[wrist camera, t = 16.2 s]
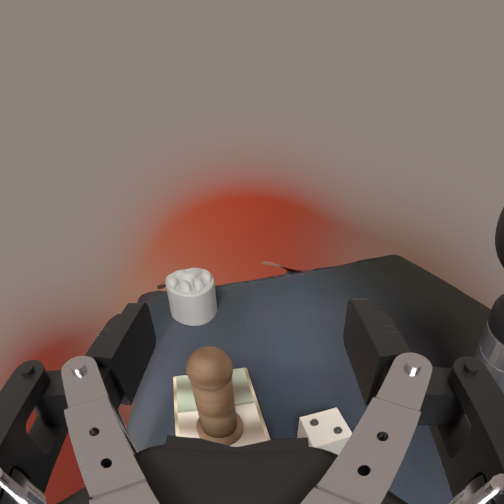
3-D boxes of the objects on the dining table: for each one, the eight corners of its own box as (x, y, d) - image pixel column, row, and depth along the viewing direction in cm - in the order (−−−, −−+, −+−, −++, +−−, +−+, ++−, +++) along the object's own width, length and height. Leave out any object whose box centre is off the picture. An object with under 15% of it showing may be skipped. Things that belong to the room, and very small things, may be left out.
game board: (174, 382, 45) (173, 375, 45) (247, 372, 47) (246, 366, 47) (194, 572, 16) (191, 570, 15) (310, 553, 18) (312, 550, 17)
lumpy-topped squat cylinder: (209, 293, 74) (206, 260, 71) (223, 320, 63) (220, 283, 60) (168, 300, 71) (162, 267, 68) (175, 330, 59) (168, 293, 56)
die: (296, 438, 34) (299, 415, 32) (331, 429, 35) (337, 405, 33) (308, 466, 30) (313, 445, 28) (345, 455, 31) (354, 433, 29)
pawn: (214, 407, 38) (201, 328, 33) (251, 423, 36) (247, 344, 31) (188, 434, 34) (166, 357, 29) (227, 454, 31) (213, 378, 26)
